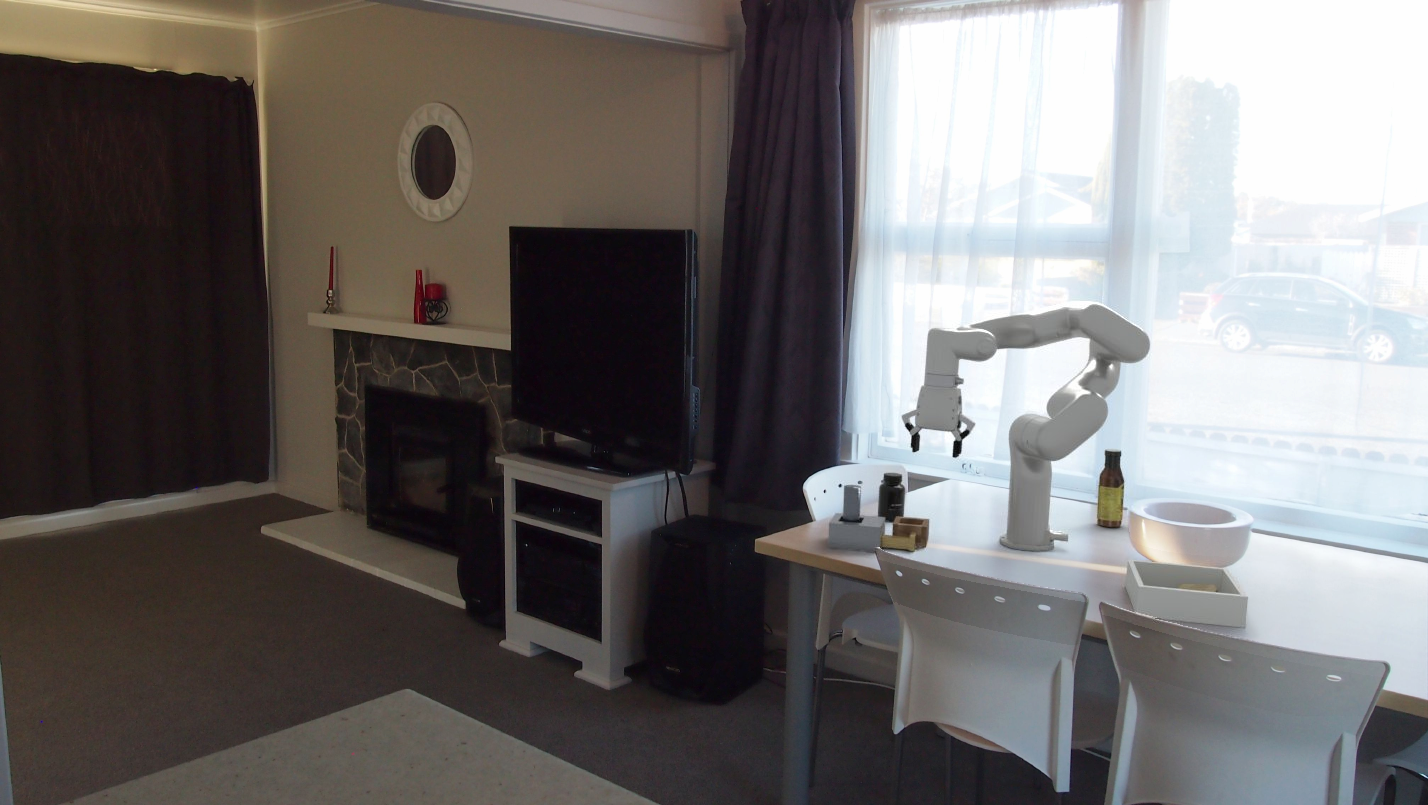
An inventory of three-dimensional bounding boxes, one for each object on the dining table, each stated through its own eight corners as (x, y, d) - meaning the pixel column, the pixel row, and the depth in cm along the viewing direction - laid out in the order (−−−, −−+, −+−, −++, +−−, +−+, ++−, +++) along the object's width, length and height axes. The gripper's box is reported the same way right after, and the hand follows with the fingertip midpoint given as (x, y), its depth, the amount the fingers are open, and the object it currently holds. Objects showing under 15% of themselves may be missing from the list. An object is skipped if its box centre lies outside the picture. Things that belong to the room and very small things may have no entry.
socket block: (884, 541, 246) (885, 517, 245) (879, 552, 236) (880, 527, 236) (835, 537, 249) (835, 513, 248) (828, 547, 240) (829, 522, 239)
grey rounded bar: (859, 542, 245) (862, 485, 243) (857, 547, 241) (859, 489, 239) (843, 541, 246) (845, 484, 244) (840, 545, 242) (842, 487, 240)
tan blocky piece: (915, 547, 241) (916, 532, 240) (914, 551, 237) (915, 536, 237) (876, 543, 243) (877, 529, 243) (874, 547, 240) (875, 533, 239)
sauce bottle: (1125, 528, 262) (1131, 452, 260) (1101, 528, 262) (1106, 452, 260) (1116, 522, 269) (1121, 448, 266) (1092, 521, 269) (1097, 447, 266)
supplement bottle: (896, 523, 263) (898, 478, 262) (872, 519, 267) (874, 474, 266) (908, 518, 269) (910, 474, 267) (885, 514, 273) (887, 470, 271)
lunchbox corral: (1224, 596, 209) (1227, 568, 208) (1245, 627, 191) (1248, 597, 190) (1125, 587, 214) (1127, 559, 213) (1136, 616, 196) (1138, 586, 195)
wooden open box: (928, 539, 249) (929, 519, 248) (925, 547, 241) (926, 527, 241) (895, 536, 251) (896, 516, 250) (891, 544, 243) (892, 524, 243)
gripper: (982, 383, 235) (976, 456, 237) (910, 377, 243) (905, 447, 245) (973, 386, 228) (967, 461, 230) (899, 379, 237) (894, 451, 239)
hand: (935, 454), depth 238 cm, fingers open, 9 cm apart
